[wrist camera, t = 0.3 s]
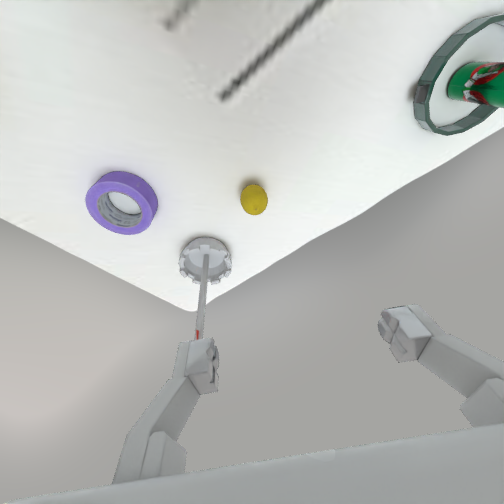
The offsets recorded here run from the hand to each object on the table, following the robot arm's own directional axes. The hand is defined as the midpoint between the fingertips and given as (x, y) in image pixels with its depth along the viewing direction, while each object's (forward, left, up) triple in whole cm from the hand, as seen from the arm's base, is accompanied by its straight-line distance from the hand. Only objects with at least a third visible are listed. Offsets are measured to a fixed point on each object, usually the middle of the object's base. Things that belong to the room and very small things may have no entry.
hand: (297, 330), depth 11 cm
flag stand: (+27, -16, -39) cm, 50 cm away
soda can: (0, +38, -39) cm, 55 cm away
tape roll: (+8, -27, -39) cm, 48 cm away
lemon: (+12, -1, -39) cm, 41 cm away
